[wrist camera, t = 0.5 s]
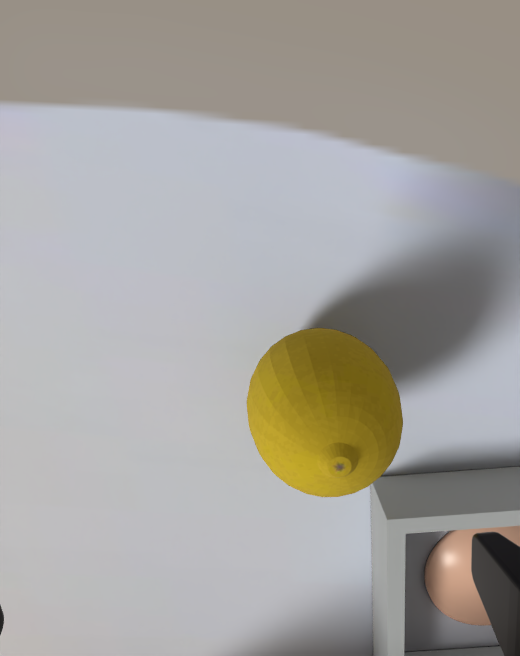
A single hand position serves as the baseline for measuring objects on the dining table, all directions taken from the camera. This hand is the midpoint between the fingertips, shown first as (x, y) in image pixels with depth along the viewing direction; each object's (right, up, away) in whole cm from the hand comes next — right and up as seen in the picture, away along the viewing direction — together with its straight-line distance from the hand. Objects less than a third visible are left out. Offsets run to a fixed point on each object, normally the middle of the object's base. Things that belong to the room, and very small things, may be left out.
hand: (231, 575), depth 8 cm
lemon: (+3, +3, +12) cm, 13 cm away
